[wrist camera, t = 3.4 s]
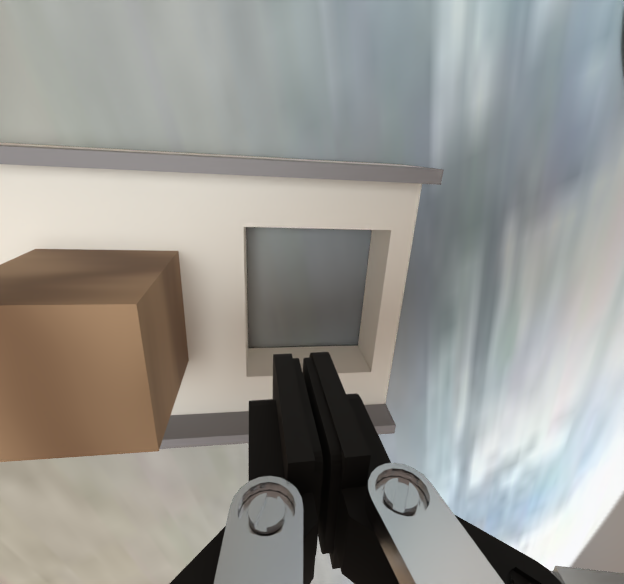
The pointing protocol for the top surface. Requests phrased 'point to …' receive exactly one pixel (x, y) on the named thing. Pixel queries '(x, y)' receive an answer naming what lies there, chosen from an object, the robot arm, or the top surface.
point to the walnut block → (89, 351)
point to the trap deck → (222, 254)
